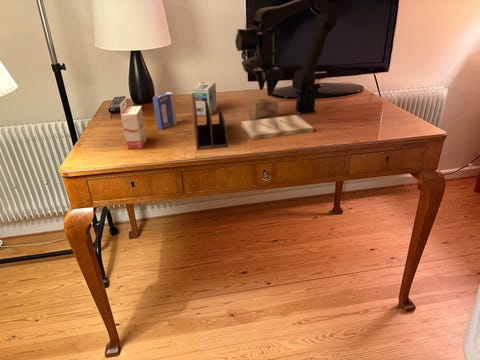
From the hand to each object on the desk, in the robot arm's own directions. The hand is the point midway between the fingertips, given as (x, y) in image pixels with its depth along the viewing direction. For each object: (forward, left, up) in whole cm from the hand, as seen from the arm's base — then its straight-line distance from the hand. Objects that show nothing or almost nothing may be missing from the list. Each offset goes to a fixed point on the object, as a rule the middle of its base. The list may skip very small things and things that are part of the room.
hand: (265, 92), depth 128 cm
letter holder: (+24, +12, -10) cm, 29 cm away
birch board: (0, +12, -10) cm, 15 cm away
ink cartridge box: (+48, +10, -10) cm, 50 cm away
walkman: (+37, -4, -10) cm, 39 cm away
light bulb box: (+20, -16, -10) cm, 28 cm away
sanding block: (0, 0, -10) cm, 10 cm away
